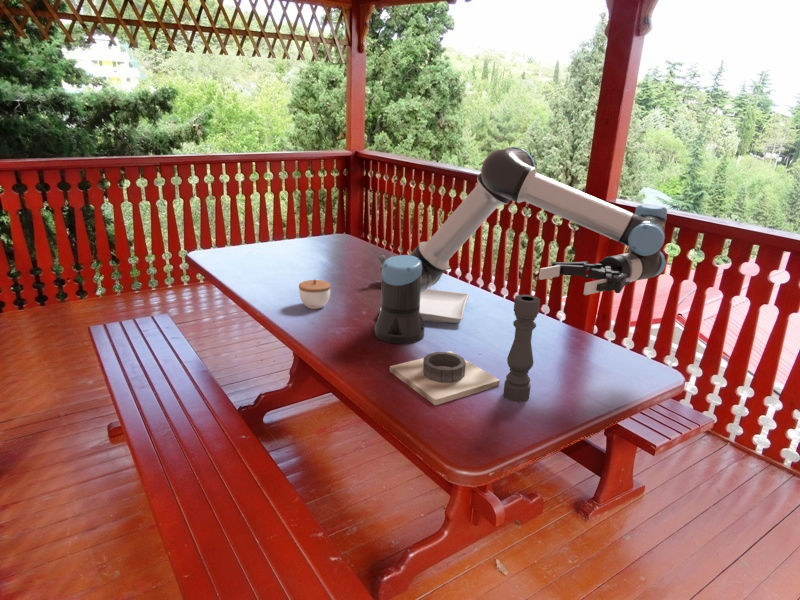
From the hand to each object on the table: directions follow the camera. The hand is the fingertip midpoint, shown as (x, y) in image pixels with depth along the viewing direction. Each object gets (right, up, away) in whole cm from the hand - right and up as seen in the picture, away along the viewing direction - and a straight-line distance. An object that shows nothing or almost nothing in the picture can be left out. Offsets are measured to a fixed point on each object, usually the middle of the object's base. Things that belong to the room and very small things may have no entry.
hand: (561, 281), depth 128 cm
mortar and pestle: (-42, +2, +87) cm, 96 cm away
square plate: (-29, -8, +60) cm, 67 cm away
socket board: (-27, -24, +12) cm, 38 cm away
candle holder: (-10, -28, +4) cm, 30 cm away
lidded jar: (-67, -7, +60) cm, 90 cm away
